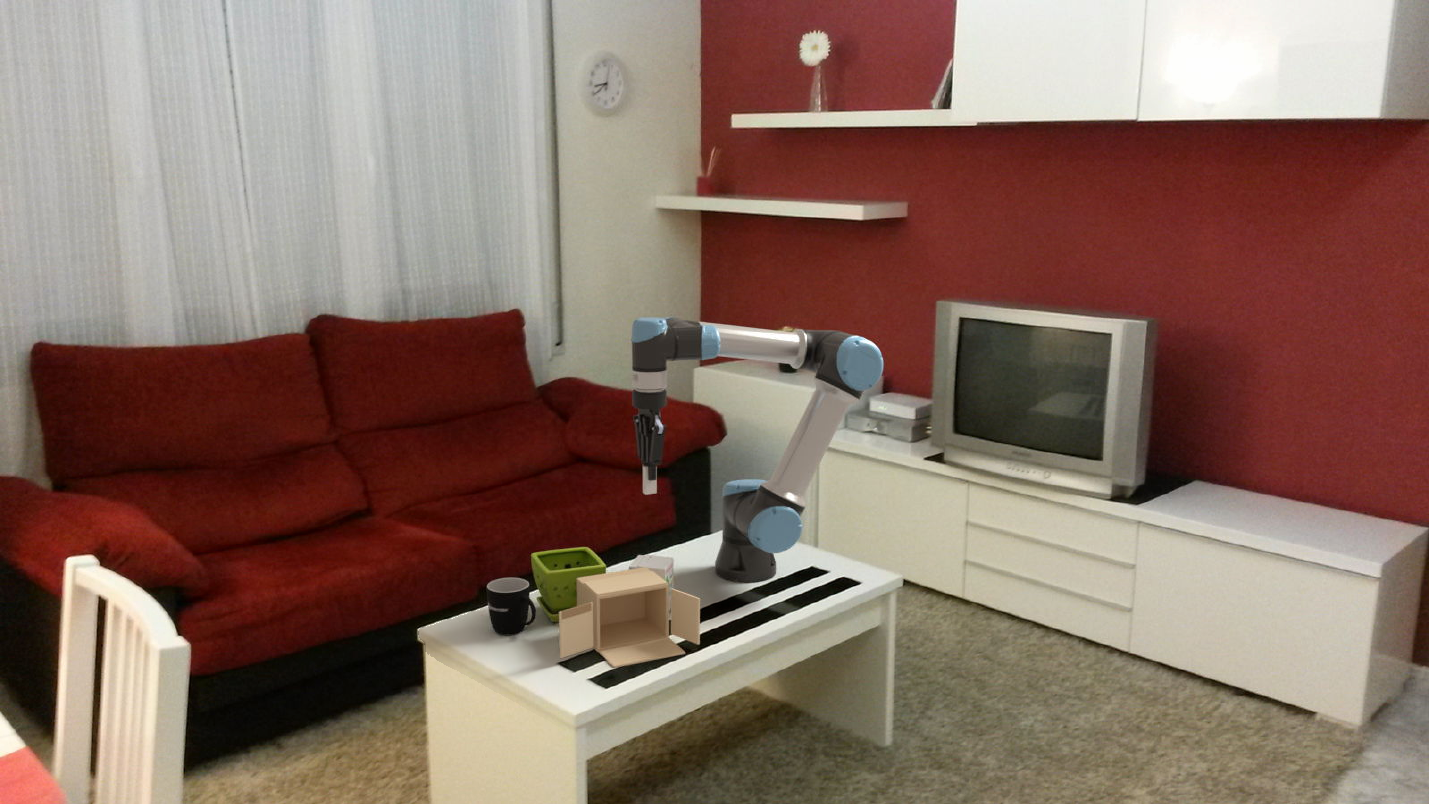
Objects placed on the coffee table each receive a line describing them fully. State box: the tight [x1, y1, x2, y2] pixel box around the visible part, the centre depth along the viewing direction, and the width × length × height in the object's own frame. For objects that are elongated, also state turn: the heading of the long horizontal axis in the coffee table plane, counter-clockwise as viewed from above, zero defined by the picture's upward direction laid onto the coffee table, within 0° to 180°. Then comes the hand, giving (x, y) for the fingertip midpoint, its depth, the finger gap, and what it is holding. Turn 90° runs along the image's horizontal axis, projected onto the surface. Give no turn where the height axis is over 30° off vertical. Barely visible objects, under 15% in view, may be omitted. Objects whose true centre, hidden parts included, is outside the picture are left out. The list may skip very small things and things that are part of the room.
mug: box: [486, 577, 537, 636], centre depth 240 cm, size 12×9×10 cm
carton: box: [577, 567, 701, 669], centre depth 236 cm, size 19×20×12 cm
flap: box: [558, 602, 593, 659], centre depth 227 cm, size 8×1×10 cm, turn 133°
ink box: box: [628, 554, 674, 612], centre depth 252 cm, size 8×8×12 cm
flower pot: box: [530, 546, 607, 623], centre depth 251 cm, size 14×14×13 cm
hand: (649, 493), depth 251 cm, fingers closed
